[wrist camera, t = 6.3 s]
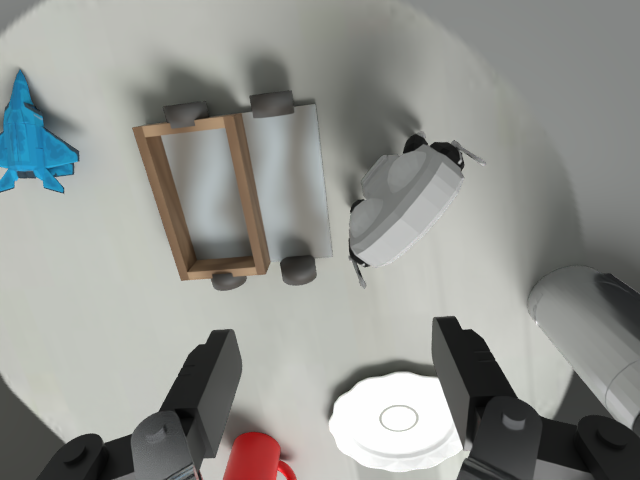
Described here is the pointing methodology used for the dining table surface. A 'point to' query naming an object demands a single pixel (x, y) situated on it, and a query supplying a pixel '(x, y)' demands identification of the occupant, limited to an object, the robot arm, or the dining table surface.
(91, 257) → the dining table surface
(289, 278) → the chassis
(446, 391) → the robot arm
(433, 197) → the robot toy
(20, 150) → the toy airplane
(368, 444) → the plate
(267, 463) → the mug
